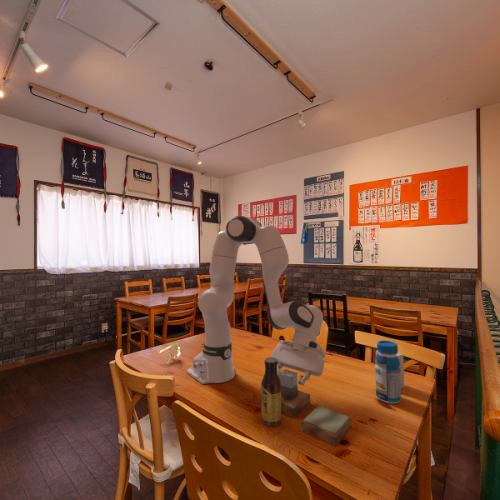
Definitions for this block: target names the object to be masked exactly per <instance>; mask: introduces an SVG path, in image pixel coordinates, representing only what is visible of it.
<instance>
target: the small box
mask: <svg viewBox="0 0 500 500" xmlns="http://www.w3.org/2000/svg"><path fill="white" fill-rule="evenodd" d="M378 353H379V352H378V350H377V349H376V350H375V357H376V356H377V354H378ZM396 356H397V357H398V359H399V361H400V366H399V367H400V369H401V374H400V385H401V389H404V388H405V369H404V364H405V363H404V354H402V353H400V352H398V353H397V355H396Z"/></svg>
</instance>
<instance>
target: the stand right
mask: <svg viewBox="0 0 500 500" xmlns="http://www.w3.org/2000/svg"><path fill="white" fill-rule="evenodd" d="M300 423H301V427H300V428H301V429H300V430H301V431H303V432H305V433H307V434H310V435H311V436H314V437H316V438H318V439H320V440H322V441H324V440H325V442H326V443H330V444H331V445H333V444H334V445H333V446H335V445H336V447H338V445H339V444H340V442H342V440H343V438H344V437H345V436H346V434H347V433H348V431H349V430H350V429H351V427H352V418H351V417H350V416H348V415H345V414H343V413H340V412H337V411H335V410H332V409H330V408H326V407H324V406H322V405H317V406H316V407H315V408H313V410H312V411H311V412H310V413H309V414H308V415H306V417H304V418H303V419H302V420H301V422H300ZM341 439H342V440H341ZM338 443H339V444H338Z"/></svg>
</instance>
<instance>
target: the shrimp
mask: <svg viewBox="0 0 500 500" xmlns="http://www.w3.org/2000/svg"><path fill="white" fill-rule="evenodd" d="M179 343H180V342H179V341H177V342H176V343H173V344H171V345H169V346H167V347H165V348H164V347H163V348H162V349H161V350H160V351H159V353H157V354H156V356H158V355H159V354H162V352H163V353H166V354H165V357H166V356H167V358H166V360H164V361H163V364H164V365H168V364H170V361H172V360H173V359H176V357H180V356H181V353H182V352H183V350H182V349H181V348H180V347H181V345H180V344H179Z"/></svg>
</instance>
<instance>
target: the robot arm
mask: <svg viewBox="0 0 500 500" xmlns="http://www.w3.org/2000/svg"><path fill="white" fill-rule="evenodd" d="M252 244H254V246H256V249H257V251H258V255H259V258H260V261H261V267H262V271H261V278H262V285H263V289H264V290H263V291H264V294H265V300H266V303H267V318H268V323H269V324H270V326H271V327H273V328H274V329H276V330H277V331H278V330H280V331H281V330H286V329H289V328H293V329H294V333H293V336H292V338H291V340H290V341H285V340H281V341H279V342H278V343H277V344H276V346H275V348H274V350H273V352H272V353H271V355H270V357H273V358H276V359H277V375H278V376H279V373H280V372H282V370H281V369H282V368H283V367H284V368H288V369H291V370H295V371H297V372H302V373H304V374H303V376H302V377H299V380H297V384H299V385H300V386H304V385H305V383H306V382H307V380H309V379H310V378H311V375H312V376H315V377H318V378H320V376H322V375H323V372H324V368H325V363H326V361H325V357H326V355H327V354H326V352H325V350H324V348H323V347H322V345H321V344H319V343H317V337H318V336H319V335H320V332H321V330H322V326H323V323H324V313H323V311H322V310H321V309H320V308H319V307H317V306H316V305H313V304H310V305H309V304H305V303H304V302H302V301H300V300H293V301H289V302H285V303H284V302H283V301H282V297H281V294H280V293H281V292H280V287H279V279H280V277H281V275H282V274H283V273H284V272H285V271H286V269H288V265H289V263H290V259H289V252H288V249H287V247H286V244H285V242H284V239H283V237H282V236H281V233H280V232H279V230H278V228H277V227H276V226H275V225H272V224H266V225H265V224H264V225H262V223H260V221H258V220H256V219H254V218H252V217H249V216H244V215H236V216H232V217H230V218H229V220H228V221H227V223H226V226H225V230H224V229H223V230H221V231H219V232H218V233H217V235H216V237H215V240H214V242H213V247H212V252H211V256H210V264H209V270H208V272H209V277H210V287H209V288H208V289H206V290H204V291H203V292H202V294H201V295H200V296H199V298H198V300H197V301H198V302H197V304H198V305H197V306H198V309H199V310H200V312H201V314H202V318H203V322H204V336H205V337H204V339H205V340H204V341H205V342H204V343H201V345H200V346H201V348H202V347H203V349H202V351H200V353H199V354H197V355H196V356H194V358H193V360H192V366H190V367H189V368H188V369H187V370H186V373H187V375H189V376H191V377H192V378H194V379H195V380H196V381H198V382H199V383H200V384H203V385H205V384H221V383H225V382H228V381H231V380H233V379H234V378H235V376H236V373H235V366H234V362H233V354H232V352H233V351H232V350H233V345H232V340H231V338H232V337H231V324H230V322H229V318H228V317H229V316H228V311H227V310H228V308H229V307H230V306H231V305H232V304H233V301H234V299H235V291H234V289H235V271H236V264H237V259H238V253H239V248H240V247H241V246H242V245H244V246H246V245H252Z"/></svg>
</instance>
